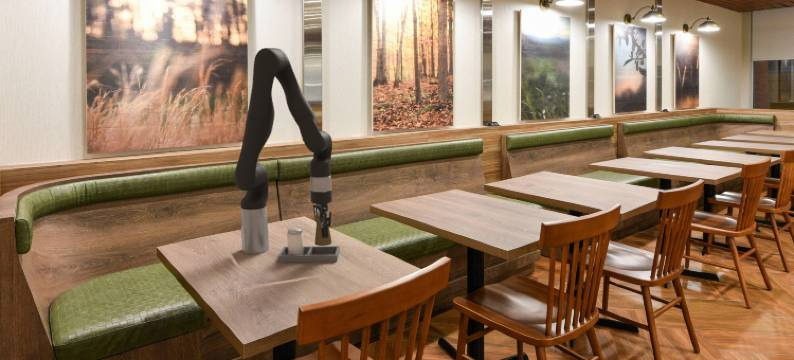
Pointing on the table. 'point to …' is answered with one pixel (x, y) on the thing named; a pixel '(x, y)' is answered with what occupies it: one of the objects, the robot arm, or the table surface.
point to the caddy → (312, 254)
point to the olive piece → (318, 236)
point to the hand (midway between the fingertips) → (322, 235)
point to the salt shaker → (295, 241)
